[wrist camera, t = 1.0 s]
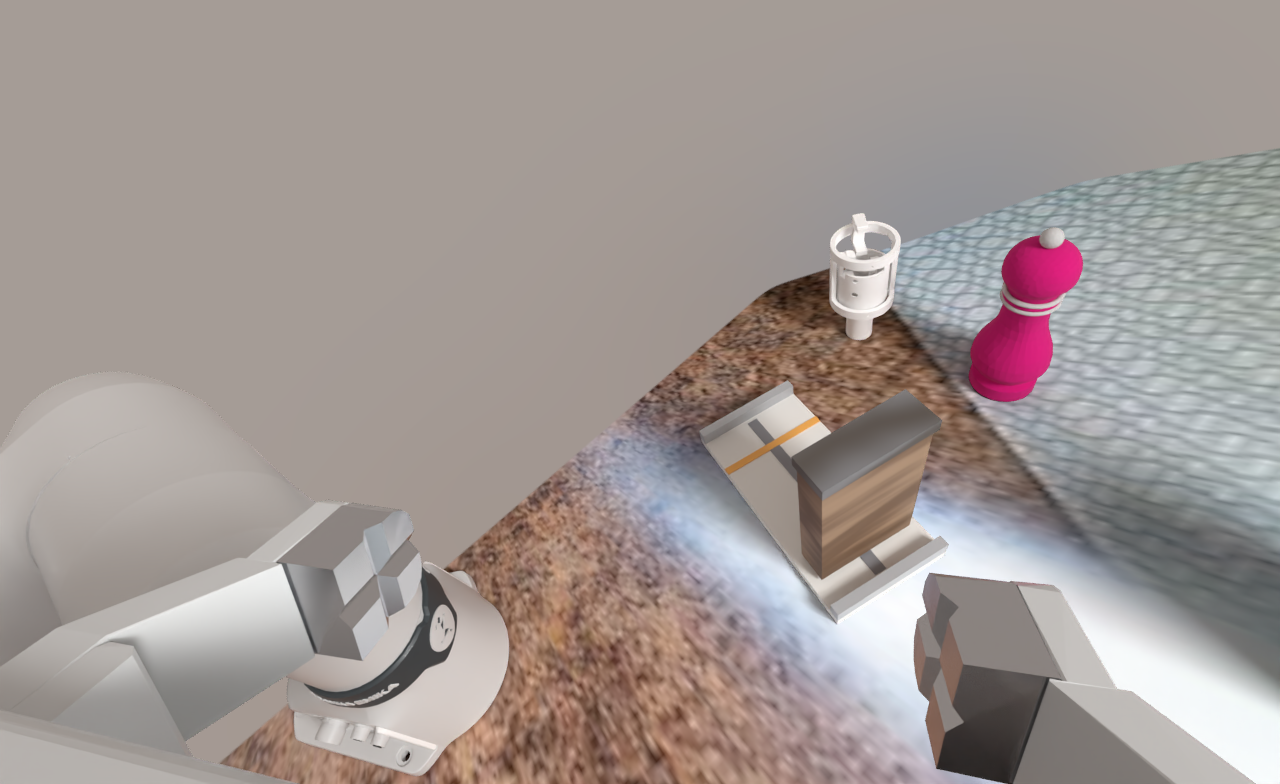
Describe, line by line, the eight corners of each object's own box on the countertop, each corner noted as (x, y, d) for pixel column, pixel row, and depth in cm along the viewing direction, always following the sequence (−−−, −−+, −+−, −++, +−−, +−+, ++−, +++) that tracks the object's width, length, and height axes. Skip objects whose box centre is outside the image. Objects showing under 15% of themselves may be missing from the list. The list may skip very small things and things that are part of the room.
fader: (913, 526, 55) (942, 420, 43) (822, 583, 54) (822, 492, 41) (886, 498, 58) (905, 389, 45) (798, 552, 56) (791, 456, 44)
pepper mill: (948, 379, 66) (986, 233, 51) (993, 345, 68) (1042, 193, 53) (1008, 417, 62) (1068, 270, 47) (1054, 380, 63) (1128, 225, 48)
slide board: (944, 555, 55) (948, 544, 53) (837, 624, 53) (838, 615, 51) (788, 393, 70) (787, 380, 68) (702, 443, 69) (698, 430, 67)
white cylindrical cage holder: (881, 307, 75) (891, 206, 64) (895, 347, 71) (910, 246, 59) (824, 316, 76) (824, 219, 65) (835, 356, 72) (837, 259, 61)
